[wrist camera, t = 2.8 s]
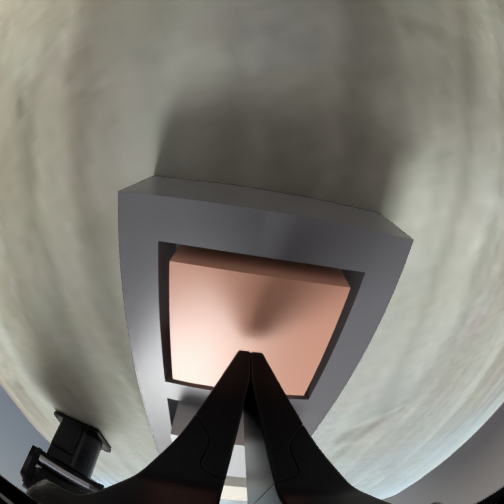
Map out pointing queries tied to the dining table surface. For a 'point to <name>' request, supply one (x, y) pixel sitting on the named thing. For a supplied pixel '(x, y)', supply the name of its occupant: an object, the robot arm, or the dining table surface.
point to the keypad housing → (257, 244)
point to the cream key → (234, 488)
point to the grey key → (237, 461)
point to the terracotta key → (250, 314)
